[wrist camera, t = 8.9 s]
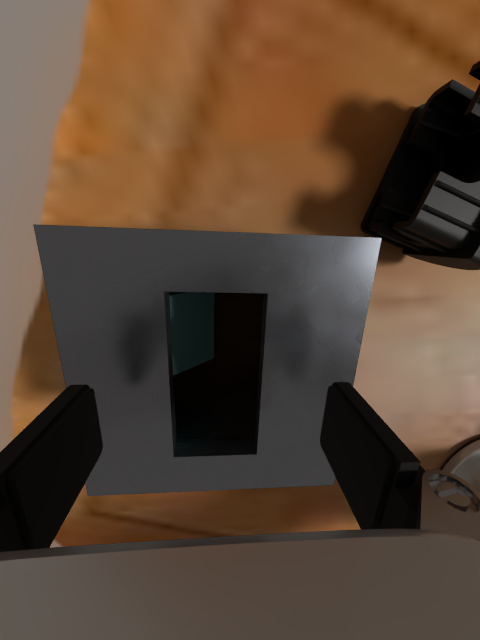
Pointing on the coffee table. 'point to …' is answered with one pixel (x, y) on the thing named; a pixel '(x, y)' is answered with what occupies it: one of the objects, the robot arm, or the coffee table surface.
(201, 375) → the coffee table surface
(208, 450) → the box
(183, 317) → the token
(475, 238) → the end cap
